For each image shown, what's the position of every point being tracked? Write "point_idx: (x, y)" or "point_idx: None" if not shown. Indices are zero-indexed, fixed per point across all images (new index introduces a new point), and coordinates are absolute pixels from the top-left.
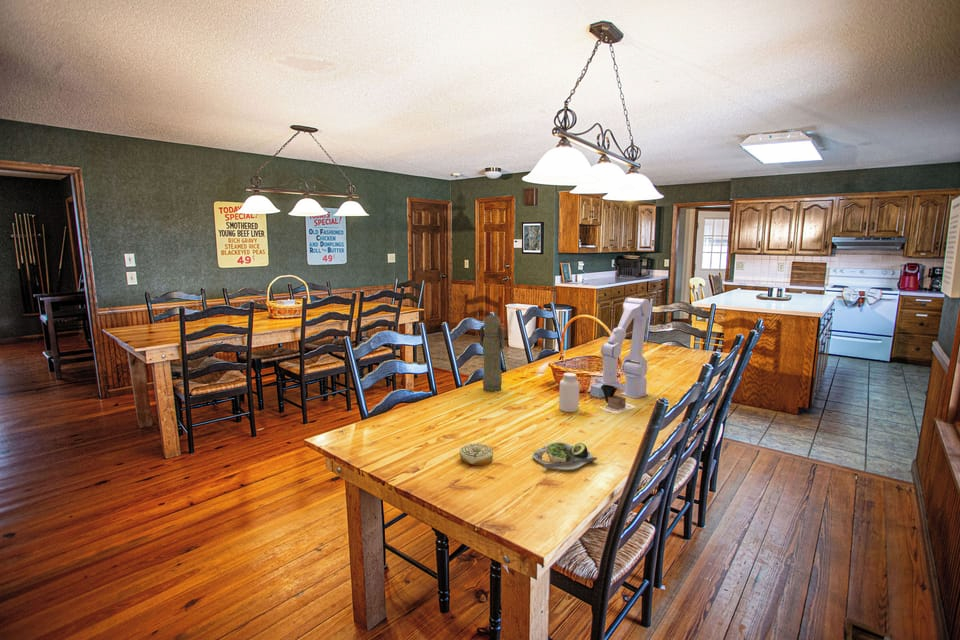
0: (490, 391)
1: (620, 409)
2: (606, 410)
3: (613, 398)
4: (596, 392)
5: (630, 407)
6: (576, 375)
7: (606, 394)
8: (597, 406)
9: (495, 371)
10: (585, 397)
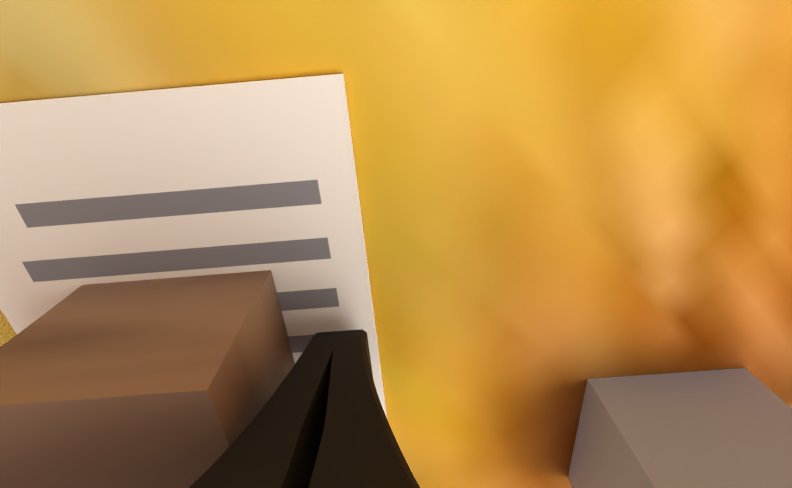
0: None
1: None
2: (83, 98)
3: (77, 416)
4: (692, 448)
5: None
6: None
7: (325, 450)
8: (343, 115)
9: None
10: (778, 278)
